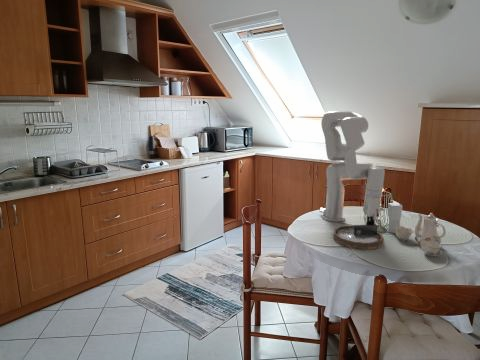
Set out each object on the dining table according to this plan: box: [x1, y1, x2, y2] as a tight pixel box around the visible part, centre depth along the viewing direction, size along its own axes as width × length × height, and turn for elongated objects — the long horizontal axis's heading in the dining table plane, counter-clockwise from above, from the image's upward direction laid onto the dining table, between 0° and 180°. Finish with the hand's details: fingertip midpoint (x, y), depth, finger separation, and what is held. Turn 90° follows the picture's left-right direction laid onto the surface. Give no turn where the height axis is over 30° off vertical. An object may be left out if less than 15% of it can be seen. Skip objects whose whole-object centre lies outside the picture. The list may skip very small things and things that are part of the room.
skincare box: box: [386, 200, 403, 233], centre depth 185 cm, size 8×6×15 cm
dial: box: [337, 222, 380, 243], centre depth 172 cm, size 20×20×7 cm
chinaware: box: [394, 212, 447, 257], centre depth 165 cm, size 28×17×17 cm, turn 20°
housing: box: [332, 225, 385, 251], centre depth 172 cm, size 23×23×3 cm
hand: (370, 228), depth 176 cm, fingers closed
